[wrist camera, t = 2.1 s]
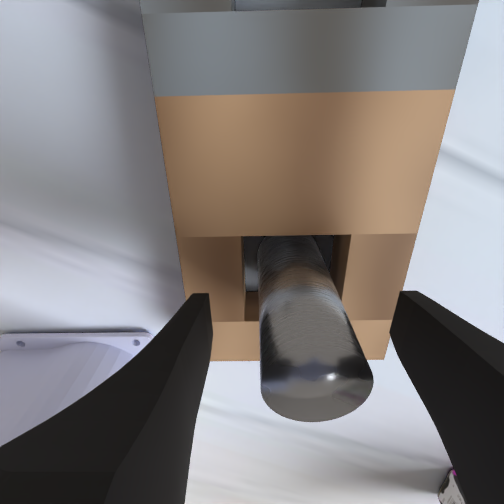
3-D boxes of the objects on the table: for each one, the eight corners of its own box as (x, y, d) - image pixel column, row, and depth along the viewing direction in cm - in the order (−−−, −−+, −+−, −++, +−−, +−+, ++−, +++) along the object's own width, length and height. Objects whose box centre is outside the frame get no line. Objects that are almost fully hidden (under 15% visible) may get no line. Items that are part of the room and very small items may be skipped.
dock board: (202, 328, 18) (195, 361, 16) (118, -317, 8) (63, -485, 5) (367, 326, 18) (383, 359, 16) (508, -335, 7) (615, -516, 5)
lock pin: (257, 281, 16) (260, 422, 9) (257, 227, 15) (260, 347, 8) (315, 280, 16) (364, 421, 9) (320, 226, 15) (383, 346, 8)
